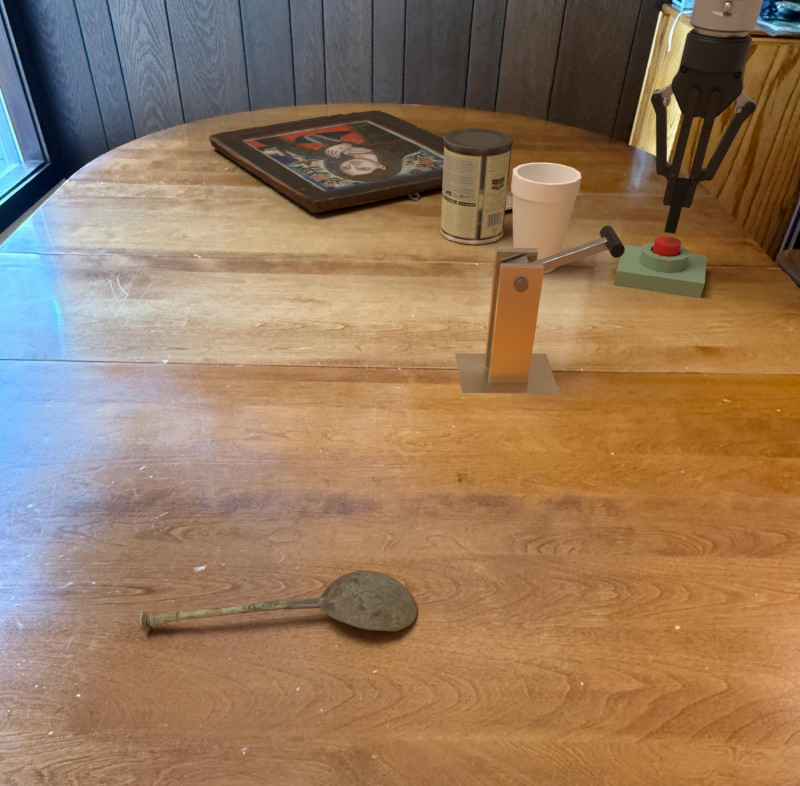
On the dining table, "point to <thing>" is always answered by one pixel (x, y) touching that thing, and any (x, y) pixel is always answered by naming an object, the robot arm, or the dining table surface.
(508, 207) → the flatbread
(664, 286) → the button box
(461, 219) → the coffee can
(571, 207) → the foam cup
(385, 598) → the soupspoon
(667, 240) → the button
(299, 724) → the dining table surface
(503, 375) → the bracket
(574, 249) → the lever
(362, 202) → the religious icon
